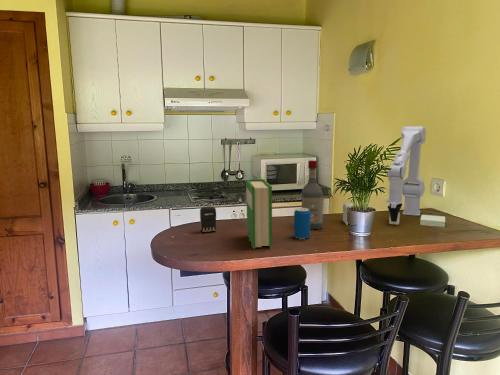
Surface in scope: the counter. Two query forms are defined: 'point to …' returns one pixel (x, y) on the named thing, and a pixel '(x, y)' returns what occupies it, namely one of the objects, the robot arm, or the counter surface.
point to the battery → (208, 217)
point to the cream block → (396, 221)
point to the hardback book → (259, 212)
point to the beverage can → (302, 223)
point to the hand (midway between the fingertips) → (394, 220)
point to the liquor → (313, 198)
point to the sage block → (432, 220)
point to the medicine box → (345, 212)
